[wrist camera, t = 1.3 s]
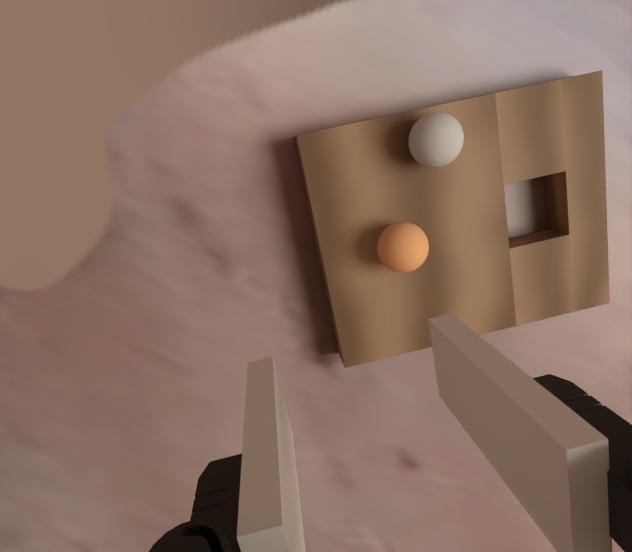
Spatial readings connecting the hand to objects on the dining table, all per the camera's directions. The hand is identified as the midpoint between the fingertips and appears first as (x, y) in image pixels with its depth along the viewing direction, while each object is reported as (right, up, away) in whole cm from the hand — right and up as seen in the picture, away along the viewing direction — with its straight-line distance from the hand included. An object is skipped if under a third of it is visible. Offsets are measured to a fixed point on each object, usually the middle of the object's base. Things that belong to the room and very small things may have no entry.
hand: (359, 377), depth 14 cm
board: (+9, +7, +19) cm, 22 cm away
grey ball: (+6, +11, +13) cm, 18 cm away
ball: (+4, +5, +14) cm, 16 cm away
